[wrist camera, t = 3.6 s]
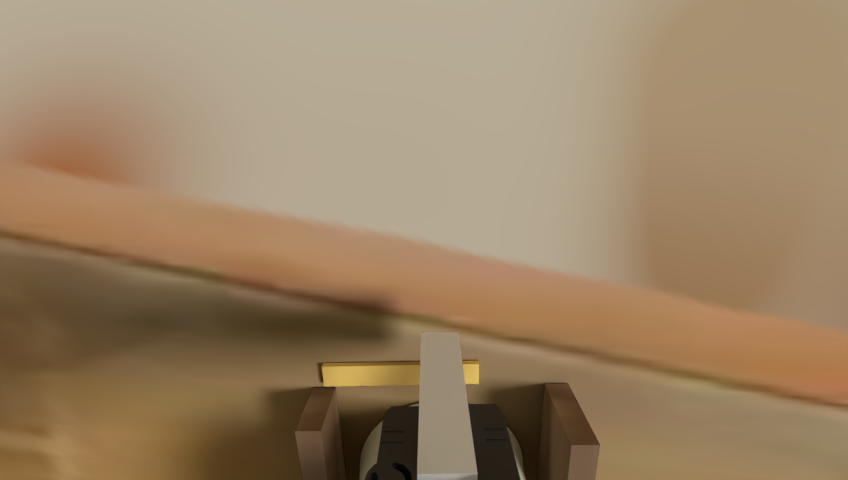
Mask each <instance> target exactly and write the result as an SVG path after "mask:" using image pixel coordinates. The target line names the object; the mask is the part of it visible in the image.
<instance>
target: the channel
mask: <svg viewBox="0 0 848 480" xmlns="http://www.w3.org/2000/svg"><path fill="white" fill-rule="evenodd" d="M462 365H463V372H464V379H465V384H479V361H478V360H472V361H462ZM322 373H323V381H324V386H381V385H420V361H417V362H361V363H323V365H322ZM295 437H296V443H297V449H298V455H299V462H300V468H301V474H302V480H346V472H345V464H344V455H343V447H342V438H341V429H340V421H339V412H338V403H337V395H336V387H323V388H313V389H312V391H311V394H310V396H309V399H308V401H307V403H306V406H305V408H304V410H303V413H302V415H301V418H300V420H299V422H298V425H297V427H296V430H295ZM599 448H600V444H599V442H598V440H597V438H596V436H595V434H594V433H593V431H592V429H591V427H590V425H589V423H588V421H587V419H586V417H585V415H584V413H583V411H582V409H581V408H580V406H579V404H578V402H577V400H576V398H575V396H574V394H573V392H572V390H571V388H570V386H569V384H568V383H559V384H545V389H544V401H543V414H542V426H541V439H540V451H539V464H538V476H537V480H595V477H596V470H597V463H598V455H599Z"/></svg>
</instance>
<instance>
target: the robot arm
mask: <svg viewBox="0 0 848 480" xmlns="http://www.w3.org/2000/svg"><path fill="white" fill-rule="evenodd" d="M364 480H520V476H519V472H518V468H517V464H516V460H515V456H514V452H513V448H512V444H511V441H510V436H509V432H508V429H507V424H506V420H505V416H504V414H503V413H502V412H501V410H500V409H499V408H498V407H497V406H496V404H468V401H467V394H466V386H465V379H464V372H463V365H462V358H461V350H460V343H459V336H458V332H449V333H421V358H420V391H419V406H397V407H390V409H389V410H388V412H387V413H386V415H385V416H384V418H383V423H382V430H381V437H380V444H379V450H378V457H377V463H376V464H374V465H373V466H372V468H371V469H370V470H369V471H368V472H367V474H366V477H365V479H364Z"/></svg>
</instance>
